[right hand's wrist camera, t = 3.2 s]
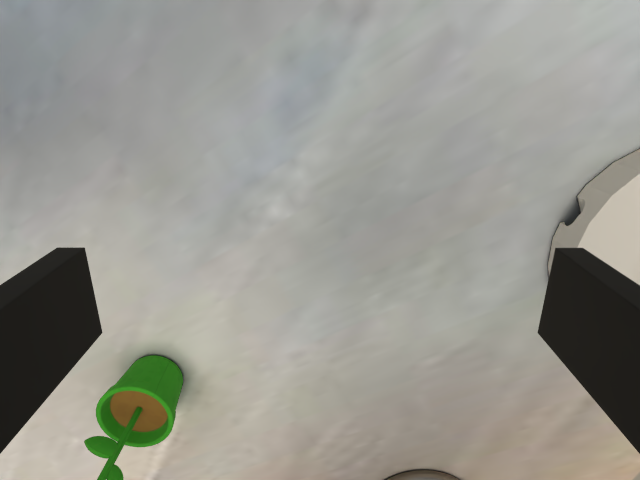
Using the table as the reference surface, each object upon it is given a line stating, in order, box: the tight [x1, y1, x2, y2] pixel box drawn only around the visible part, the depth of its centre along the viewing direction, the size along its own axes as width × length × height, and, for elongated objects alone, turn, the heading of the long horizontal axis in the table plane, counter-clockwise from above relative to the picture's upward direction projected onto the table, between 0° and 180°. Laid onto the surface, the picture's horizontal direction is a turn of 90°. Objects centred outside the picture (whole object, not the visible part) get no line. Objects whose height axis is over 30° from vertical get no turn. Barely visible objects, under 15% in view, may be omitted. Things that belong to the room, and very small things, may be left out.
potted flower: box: [84, 355, 183, 480], centre depth 39 cm, size 9×8×25 cm
